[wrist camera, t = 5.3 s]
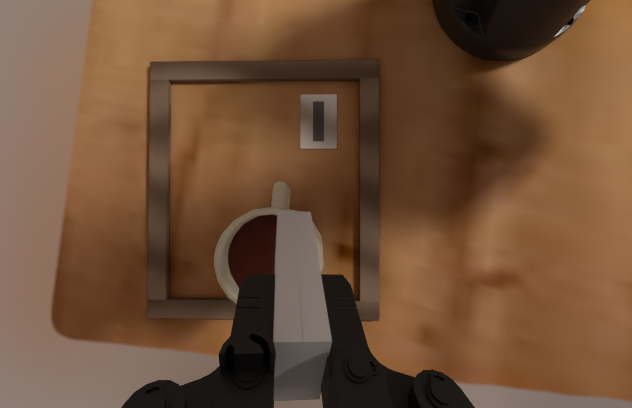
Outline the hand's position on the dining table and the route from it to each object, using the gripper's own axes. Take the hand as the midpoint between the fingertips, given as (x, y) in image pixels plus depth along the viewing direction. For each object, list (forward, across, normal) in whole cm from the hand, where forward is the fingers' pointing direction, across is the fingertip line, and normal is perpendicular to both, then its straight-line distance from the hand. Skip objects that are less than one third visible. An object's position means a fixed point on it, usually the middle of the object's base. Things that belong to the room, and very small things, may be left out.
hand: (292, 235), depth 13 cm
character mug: (+15, +1, -11) cm, 18 cm away
